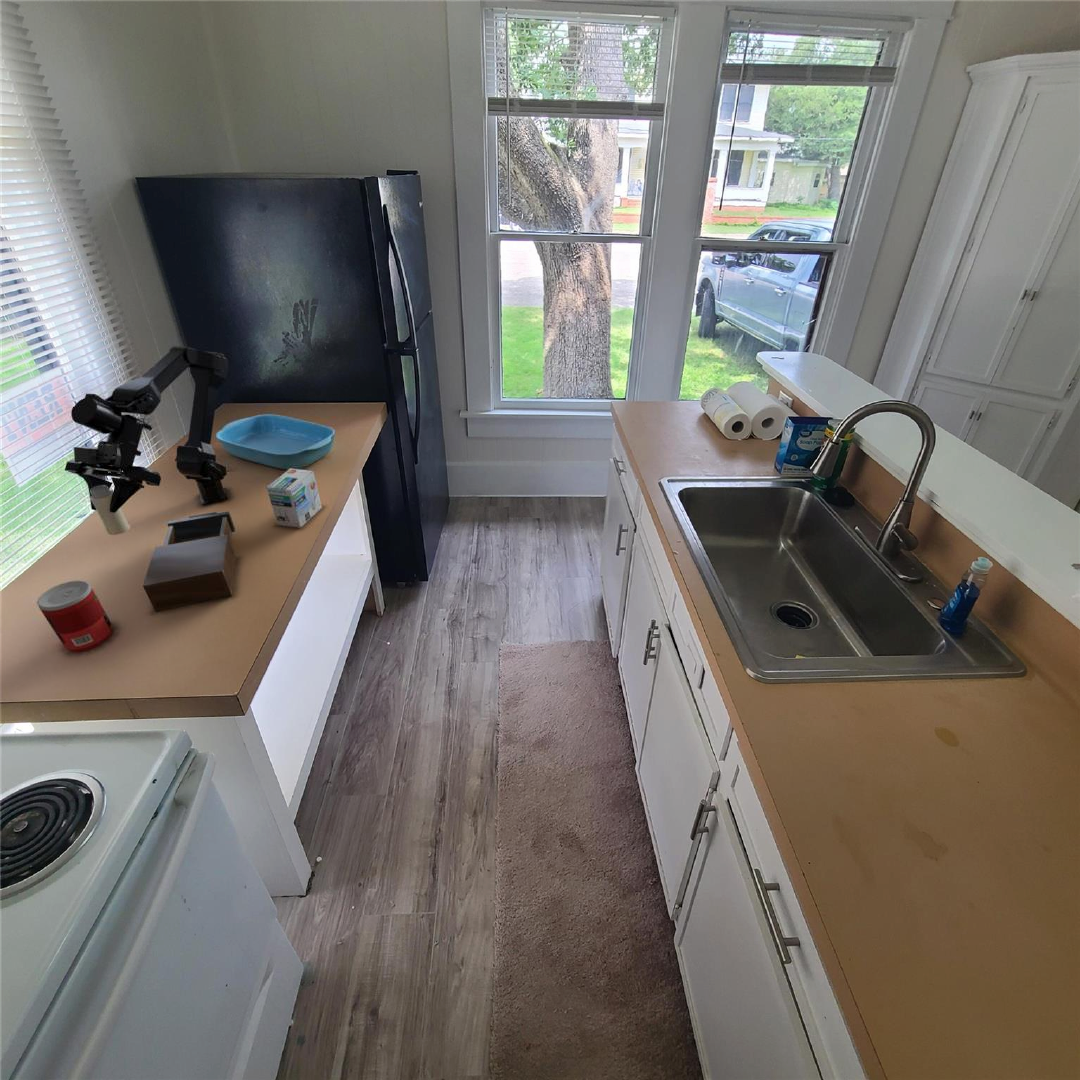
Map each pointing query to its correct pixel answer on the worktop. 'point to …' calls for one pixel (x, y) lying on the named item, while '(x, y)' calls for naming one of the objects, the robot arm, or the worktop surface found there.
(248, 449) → the casserole dish
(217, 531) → the drawer
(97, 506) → the grey-lidded cream jar
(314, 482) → the light bulb box
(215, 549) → the cabinet
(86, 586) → the canned food
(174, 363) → the robot arm
